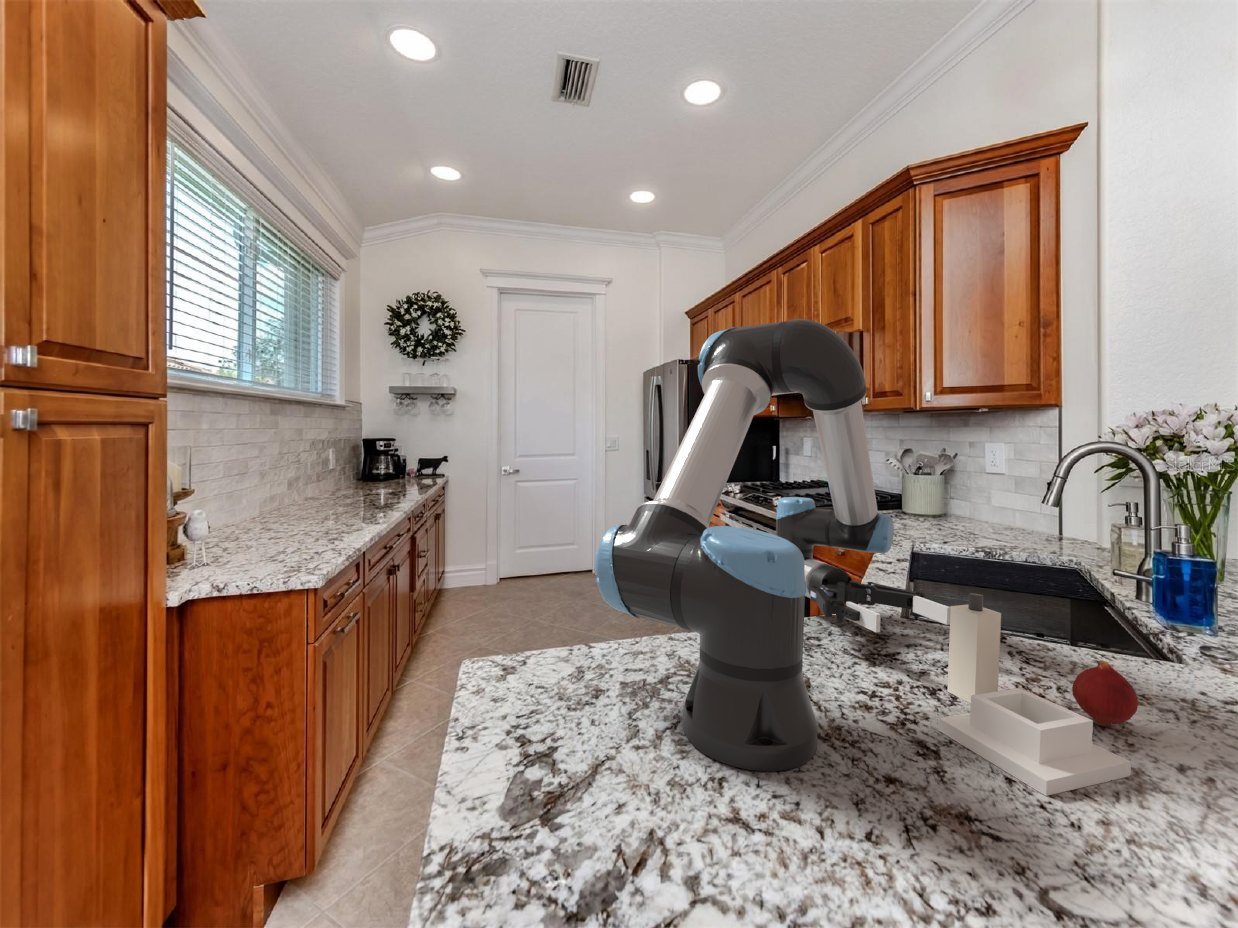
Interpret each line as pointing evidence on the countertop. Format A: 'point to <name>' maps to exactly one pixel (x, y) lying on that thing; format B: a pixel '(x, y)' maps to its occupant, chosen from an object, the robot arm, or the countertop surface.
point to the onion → (1105, 694)
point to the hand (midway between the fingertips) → (914, 619)
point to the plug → (973, 649)
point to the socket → (1034, 741)
